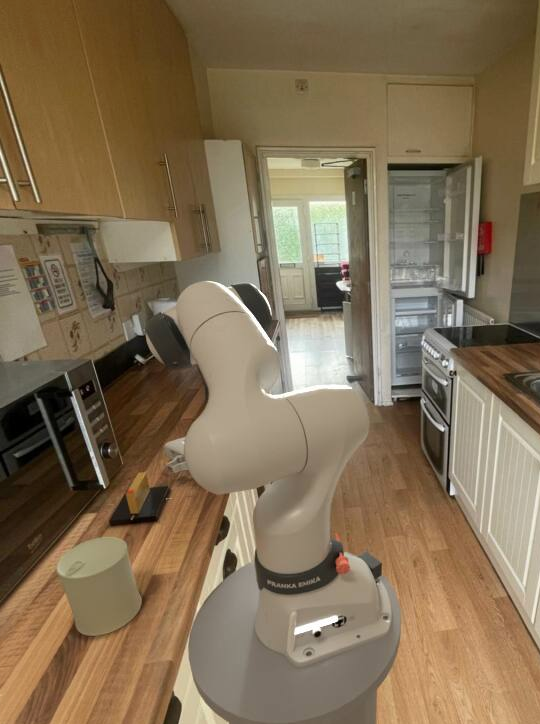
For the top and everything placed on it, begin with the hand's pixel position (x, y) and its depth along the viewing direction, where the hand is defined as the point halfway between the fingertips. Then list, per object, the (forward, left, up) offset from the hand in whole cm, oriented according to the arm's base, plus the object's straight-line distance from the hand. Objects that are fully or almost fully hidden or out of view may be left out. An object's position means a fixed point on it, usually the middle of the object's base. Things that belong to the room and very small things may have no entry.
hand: (169, 468), depth 101 cm
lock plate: (+5, +7, -5) cm, 10 cm away
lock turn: (+5, +7, -4) cm, 10 cm away
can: (+2, +37, -6) cm, 38 cm away
